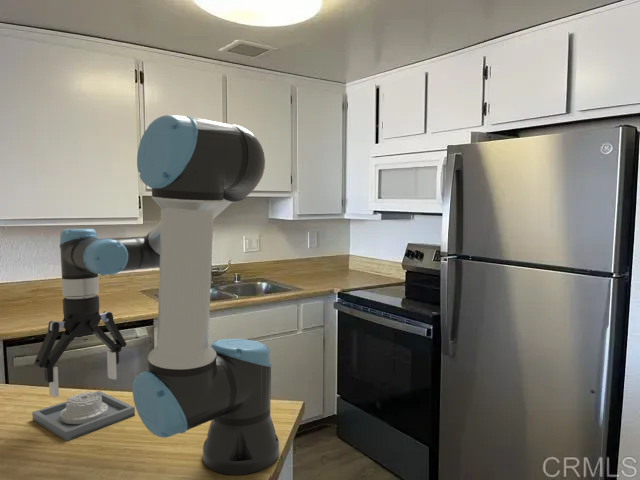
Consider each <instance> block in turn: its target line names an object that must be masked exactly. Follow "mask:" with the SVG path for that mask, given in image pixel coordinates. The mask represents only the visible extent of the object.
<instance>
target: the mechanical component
mask: <svg viewBox="0 0 640 480" xmlns="http://www.w3.org/2000/svg"><path fill="white" fill-rule="evenodd" d="M95 392H96V391H94V392H92V391H89V392H80V393H78V394H72V396H69V397H68V398H67V400H66V401H65V402H66V408H65V409H64V410H62V412H61V413H60V419H61V421H62V422H64V423H67V424H82V423H87V422H90V421H92V420H95V419H98V418H101V417H103V416H105V415H106V414H107V412H108V406H107V404H106V403H103V402H102V396H101V395H100V394H98V393H95Z"/></svg>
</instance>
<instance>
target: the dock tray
mask: <svg viewBox="0 0 640 480" xmlns="http://www.w3.org/2000/svg"><path fill="white" fill-rule="evenodd" d="M94 392H95V393H98V394H100V395H101V396H102V402H103V403H106V404H107V406H108V412H107V414H106V415H105V416H103V417H101V418H98V419H95V420H92V421H90V422H87V423H82V424H67V423H64V422H62V421H61V419H60V413H61V412H62V410H64V409H65V408H66V401H62V402H59V403H56V404H54V405H50V406H47V407H44V408H40V409H38V410H35V411H32V421H33V422H35V423H36V424H38V425H40V426H41V427H43V428H44V429H46V430H48V431H49V432H51V434H54V435H55V436H57V437H58V438H60V439H62V440H63V441H65V442H68V441H71V440H73V439H77V438H79V437H81V436H84V435H87V434H90V433H92V432H95V431H98V430H100V429H103V428H105V427H107V426H111V425H114V424H115V423H116V424H117V423H118V422H121V421H123V420H126V419H129V418H132V417H134V416H136V412H135V411H136V407H135V406H133V405H131V404H129V403H126V402H124V401H123V400H120V399H118V398H116V397H114V396H112V395H109V394H107V393H105V392H102V391H101V390H98V391H94Z"/></svg>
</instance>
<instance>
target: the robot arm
mask: <svg viewBox="0 0 640 480" xmlns="http://www.w3.org/2000/svg"><path fill="white" fill-rule="evenodd" d="M137 149H138V150H137V156H136V165H137V172H138V173H139V178H140V180H141V182H142V183H143V184H144V185H146V186H147V187H148V188H151V199H152V200H153V201H154V202H155V203H156V204H157V205H158V206H159V208H160V221H159V223H157V224H156V225H155V226H154V227H153V228H152V229H151V230H150V231H149V232H148V233H147V234H146V235H143V236H130V237H128V236H127V237H126V236H125V237H111V238H110V237H108V238H98V235H97V231H96V230H95V229H94V228H67V229H66V228H65V229H63V230H61V233H60V234H59V235H60V239H59V248H60V263H61V264H60V265H61V286H62V287H61V290H62V291H61V292H62V296H63V298H62V313H63V319H62V320H61V321H55V320H50V321H49V322H48V326H47V333H46V336H45V337H44V339H43V342H42V343H41V344H42V345H40V349H39V351H38V353H37V355H36V358H35V360H34V363H33V364H34V365H35V366H36V367H39V368H43V369H44V370H43V373H44V381H45V382H46V383H48V385H49V386H48V388H49V389H48V390H49V396H51V397H54V398H58V397H60V389H59V388H60V387H59V367H58V366H56V363H58V360H59V359H60V358H61V356H62V355H63V354H64V352H65V350H67V348H68V347H69V345H70V343H71V342H73V341H74V340H75V338H83V337H84V336H91V335H95V337H97V338H98V339H99V340H100V342H102V343H103V344H104V345H105V346H106V347H107V348H108V349H110V350H107V351H106V361H107V363H106V364H107V378H108V379H112V380H117V377H118V376H117V364H119V362H120V352H121V351H122V348H125V347H127V342H126V341H125V339H124V337H123V335H122V333H121V331H120V330H119V328H118V326H117V325H116V323H115V321H114V315H113V312H111V311H105V310H103V312H102V313H100V296H99V295H98V294H99V292H100V288H99V276H110V275H116V274H118V273H121V272H128V271H136V270H147V269H157V268H158V269H159V271H158V272H159V273H158V274H159V275H158V276H159V277H158V281H159V282H158V306H157V307H158V309H157V310H158V316H157V318H158V319H157V346H155V348H153V349H152V350H151V351H150V352H149V353H148V355H147V369H146V370H144V371H141V372H140V373H139V374H137V375H136V376H135V378H134V380H133V381H132V398H133V403H134V407H135V411H136V412H137V415H138V416H139V418H140V420H141V422H142V423H143V425H144V427H145V428H146V429H147V430H148V431H149V432H150V433H151V434H152V435H154V436H156V437H158V438H163V439H165V438H170V437H173V436H175V435H178V434H184V433H186V432H187V431H189V430H191V429H193V428H196V427H199V426H201V425H204V424H206V423H207V422H208V423H209V422H210V425H209V427H208V431H207V434H206V435H207V436H206V438H205V441H204V443H203V446H202V460H203V463H204V465H205V466H206V467H207V468H208V469H210V470H212V471H214V472H216V473H220V474H225V475H231V476H233V475H234V476H235V475H237V476H241V475H247V474H248V475H249V474H252V473H253V474H254V473H256V472H260V471H262V470H265V469H266V468H268V467H270V466H271V465H273V464H275V462H276V461H277V460H278V458H279V455H280V442H279V441H280V440H279V437H278V435H277V433H276V429H275V425H274V423H273V420H272V416H271V397H272V396H271V395H272V394H271V393H272V392H271V389H272V386H271V384H272V382H271V381H272V380H271V379H272V367H273V366H272V362H271V351H270V348H269V347H268V346H267V345H266V344H265V343H264V342H259V341H257V340H251V339H243V338H223V339H217V340H214V341H213V342H212V343H211V345H210V344H209V337H210V335H209V334H210V332H209V331H210V311H211V287H212V285H211V284H212V263H213V262H212V261H213V260H212V259H213V237H214V235H213V234H214V233H213V232H214V220H215V218H216V217H218V216H219V215H220V214H221V213H222V212H223V211H224V210H225V209H227V207H229V206H230V205H231V204H234V203H235V204H236V203H240V202H241V201H243V200H244V199H245V198H246V197H248V196H249V195H251V193H252V192H253V191H254V190H255V189H256V187H258V186H259V183H260V182H261V180H262V178H263V175H264V172H265V168H266V158H265V153H264V149H263V146H262V143H261V142H260V141H259V140H258V138H257V137H256V135H254V133H253V132H251V130H248V129H247V128H245V127H243V126H241V125H238V124H232V123H225V122H224V123H223V122H219V121H213V120H209V119H203V118H199V117H198V118H197V117H194V116H186V115H174V114H173V115H172V114H171V115H168V114H166V115H162V116H159V117H156V118H155V119H154V120H153V121H152V122H151V123H150V124H149V125H148V126H147V128H146V129H145V131H144V132H143V135H142V136H141V139H140V141H139V144H138V148H137ZM101 321H102V322H104V326H105V327H106V329H107V330H108V332H109V334H110V335H111V337H112V338H113V339H111V338H110V336H108V335H107V334H106V333H105V332H104V330H103V329H102V328H101V327H100V326H99V324H100V322H101ZM62 328H63V329H65V330H64V331H63V333H62V334H61V336H60V339H59V340H58V342H56V341H57V338H58V336H59V334H60V331H61V330H62ZM55 343H56V344H55Z"/></svg>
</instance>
